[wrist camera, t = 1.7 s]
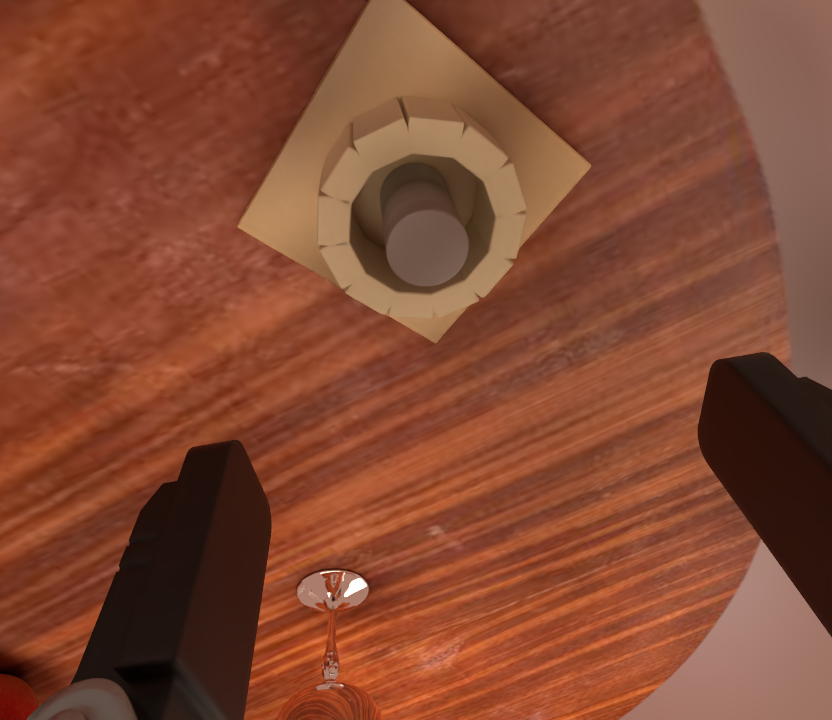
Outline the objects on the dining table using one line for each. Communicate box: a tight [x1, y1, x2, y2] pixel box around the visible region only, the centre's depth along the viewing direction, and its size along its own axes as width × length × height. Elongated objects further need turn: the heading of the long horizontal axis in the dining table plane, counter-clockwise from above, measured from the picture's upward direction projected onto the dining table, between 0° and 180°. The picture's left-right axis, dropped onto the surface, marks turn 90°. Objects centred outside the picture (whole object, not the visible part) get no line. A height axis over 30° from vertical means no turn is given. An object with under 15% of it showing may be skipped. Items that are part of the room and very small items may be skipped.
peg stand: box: [237, 0, 591, 343], centre depth 18 cm, size 9×9×6 cm
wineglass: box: [276, 569, 383, 720], centre depth 30 cm, size 6×6×12 cm
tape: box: [317, 96, 527, 319], centre depth 18 cm, size 6×6×3 cm
